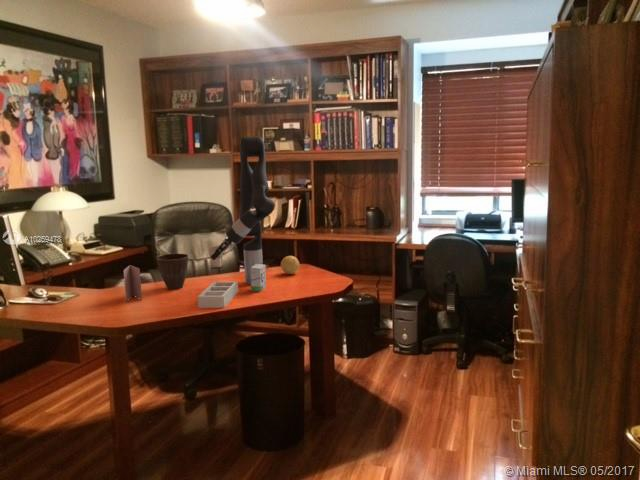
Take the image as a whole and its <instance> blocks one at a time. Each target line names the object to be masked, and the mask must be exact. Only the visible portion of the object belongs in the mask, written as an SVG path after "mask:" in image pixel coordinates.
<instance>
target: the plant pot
mask: <svg viewBox="0 0 640 480" xmlns="http://www.w3.org/2000/svg"><path fill="white" fill-rule="evenodd" d="M156 259H157V265H158V268H159V271H160V275H161V277H162V281H163V282H164V284H165V287H166V288H167V290H171V291H175V290H181V289H183V287H184V284H185V280H186V276H187V273H188V272H187V271H188V266H189V265H188V264H189V255H188V254H186V253H169V254H163V255H158V256H157V257H156Z"/></svg>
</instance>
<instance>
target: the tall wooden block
mask: <svg viewBox="0 0 640 480" xmlns="http://www.w3.org/2000/svg"><path fill="white" fill-rule="evenodd" d="M219 245H220V244H217V245H216V244H215V245H211V246H209V247H208V252H209V262H210V270H222V269H223V268H224V260H223V252H222V253H221V254H220V255H219V256H218V257H217V258H216V259H215V260H213V259H212V258H211V256H212V255H213V254H214V253H215V252H216V250H217V248H218V247H219ZM219 251H220V252H221V250H220V249H219Z"/></svg>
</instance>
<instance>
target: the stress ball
mask: <svg viewBox="0 0 640 480" xmlns="http://www.w3.org/2000/svg"><path fill="white" fill-rule="evenodd" d="M280 268H281V270H282V271H283V272H284V273H285V274H287V275H289V274H291V275H294V274H295V273H297V271H299V268H300V261H299V260H298V258H297V257H296V256H293V255H288V256H285V257H283V259H282V260H281V261H280Z"/></svg>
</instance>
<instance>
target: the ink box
mask: <svg viewBox="0 0 640 480" xmlns="http://www.w3.org/2000/svg"><path fill="white" fill-rule="evenodd" d="M266 273H267V272H266V264H255V265H254V266H252V267H251V284H250V285H251V286H250V288H251V290H250V291H251V292H254V293H255V292H256V293H257V292H258V293H260V292H262V291H263V290H264V289H266V287H267V277H266V275H267V274H266Z"/></svg>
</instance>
